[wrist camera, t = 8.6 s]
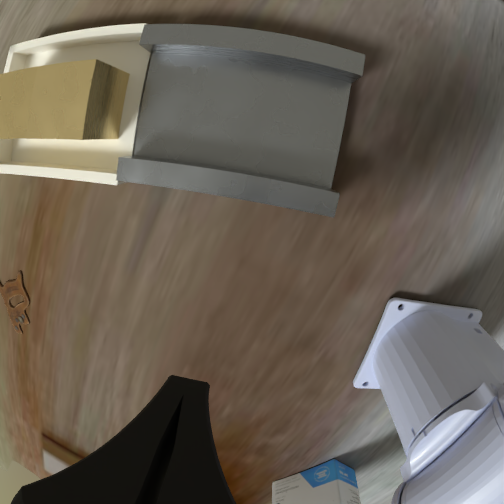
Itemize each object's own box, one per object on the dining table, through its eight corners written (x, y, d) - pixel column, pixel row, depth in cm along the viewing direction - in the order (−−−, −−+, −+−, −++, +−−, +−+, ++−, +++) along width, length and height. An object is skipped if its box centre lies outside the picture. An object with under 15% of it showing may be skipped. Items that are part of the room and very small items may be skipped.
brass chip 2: (129, 73, 14) (96, 59, 11) (118, 139, 16) (82, 139, 12) (75, 76, 14) (37, 66, 11) (66, 136, 16) (26, 138, 12)
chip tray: (158, 35, 14) (146, 23, 12) (133, 180, 17) (117, 185, 15) (28, 50, 14) (10, 46, 12) (11, 168, 17) (-8, 172, 15)
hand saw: (114, 451, 28) (113, 455, 27) (85, 444, 28) (83, 448, 28) (26, 268, 20) (21, 271, 19) (-4, 270, 20) (-8, 273, 20)
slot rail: (349, 68, 15) (365, 54, 12) (322, 205, 17) (334, 217, 14) (162, 40, 14) (144, 24, 11) (138, 174, 17) (116, 180, 14)
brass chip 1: (75, 75, 14) (37, 66, 11) (66, 136, 16) (26, 138, 12) (33, 80, 14) (-5, 75, 10) (25, 136, 16) (-14, 139, 12)
